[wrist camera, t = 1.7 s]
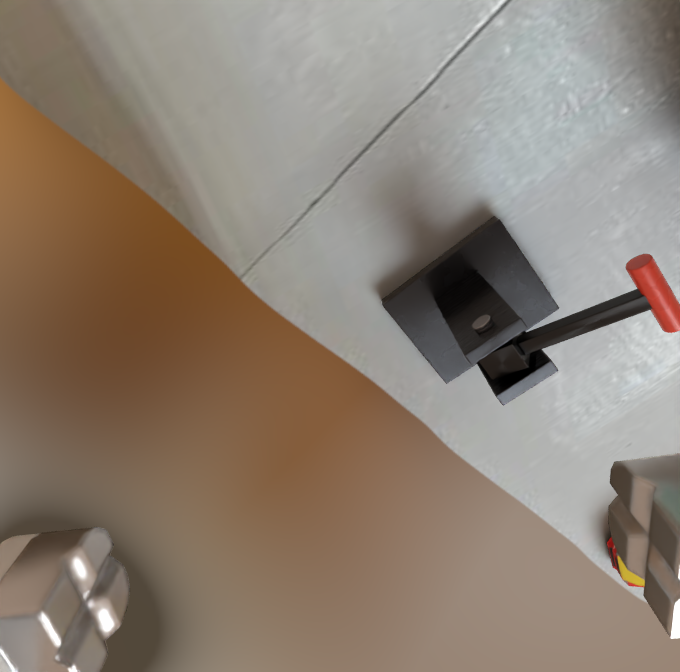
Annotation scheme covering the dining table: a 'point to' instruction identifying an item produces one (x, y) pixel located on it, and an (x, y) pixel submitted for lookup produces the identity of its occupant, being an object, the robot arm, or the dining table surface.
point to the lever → (593, 318)
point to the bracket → (475, 308)
